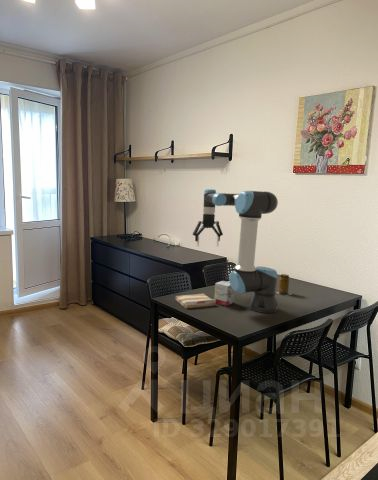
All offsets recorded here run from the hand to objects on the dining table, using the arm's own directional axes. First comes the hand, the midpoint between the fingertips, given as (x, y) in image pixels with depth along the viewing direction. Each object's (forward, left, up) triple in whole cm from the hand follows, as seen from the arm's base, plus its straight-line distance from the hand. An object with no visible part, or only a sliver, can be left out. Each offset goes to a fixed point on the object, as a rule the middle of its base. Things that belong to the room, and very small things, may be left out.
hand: (207, 246), depth 240 cm
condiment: (-27, -43, -27) cm, 58 cm away
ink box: (-33, +4, -27) cm, 43 cm away
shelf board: (-28, +20, -27) cm, 43 cm away
